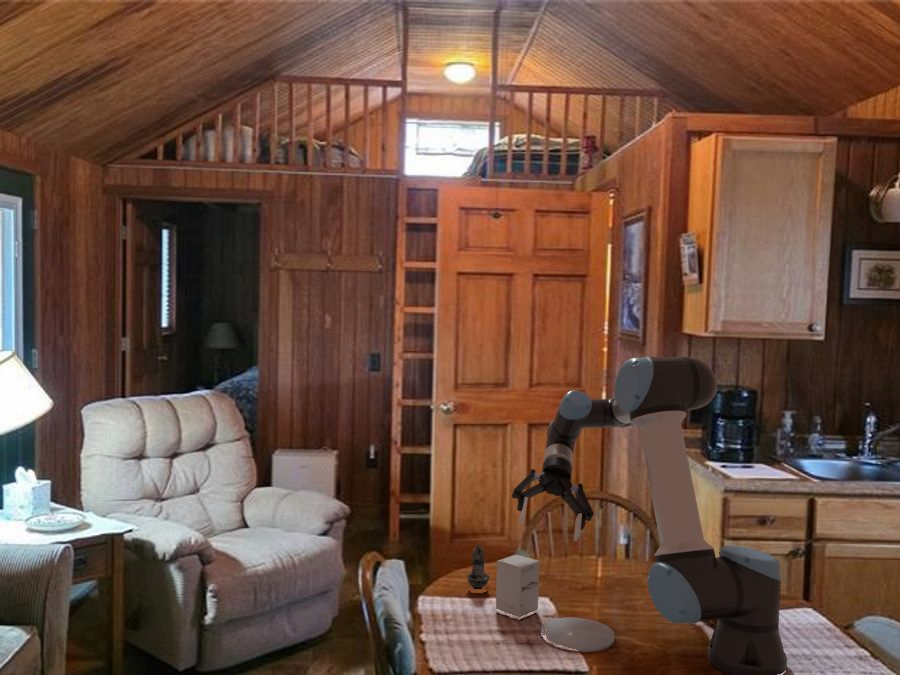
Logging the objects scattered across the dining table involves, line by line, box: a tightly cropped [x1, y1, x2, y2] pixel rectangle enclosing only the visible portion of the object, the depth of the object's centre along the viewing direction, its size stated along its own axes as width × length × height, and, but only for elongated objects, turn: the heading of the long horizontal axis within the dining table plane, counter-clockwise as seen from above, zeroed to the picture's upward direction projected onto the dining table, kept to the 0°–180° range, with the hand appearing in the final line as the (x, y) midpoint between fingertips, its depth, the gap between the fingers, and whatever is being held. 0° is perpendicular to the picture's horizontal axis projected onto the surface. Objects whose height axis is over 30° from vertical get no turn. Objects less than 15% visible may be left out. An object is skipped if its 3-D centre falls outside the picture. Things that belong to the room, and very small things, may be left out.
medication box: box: [515, 549, 534, 559], centre depth 218 cm, size 12×3×4 cm, turn 14°
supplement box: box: [495, 554, 540, 617], centre depth 187 cm, size 7×7×13 cm
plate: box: [540, 616, 615, 653], centre depth 174 cm, size 16×16×1 cm
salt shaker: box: [466, 543, 490, 589], centre depth 201 cm, size 6×6×12 cm
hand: (549, 529), depth 189 cm, fingers open, 13 cm apart
